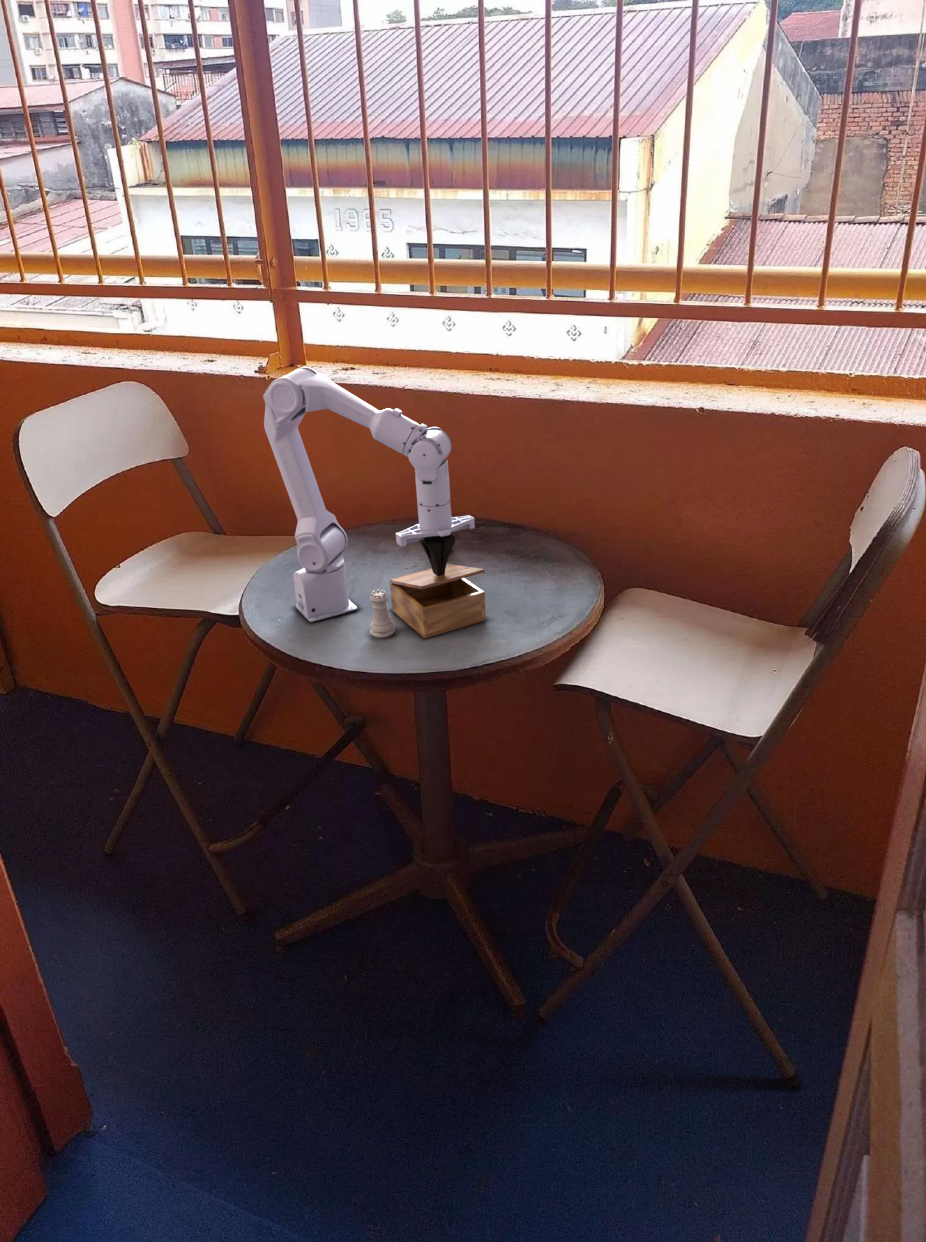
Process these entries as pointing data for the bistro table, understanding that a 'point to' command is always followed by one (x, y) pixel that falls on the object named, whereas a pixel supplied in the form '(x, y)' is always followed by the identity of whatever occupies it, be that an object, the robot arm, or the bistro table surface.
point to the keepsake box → (439, 606)
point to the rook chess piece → (380, 616)
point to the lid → (430, 579)
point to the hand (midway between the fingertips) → (438, 573)
